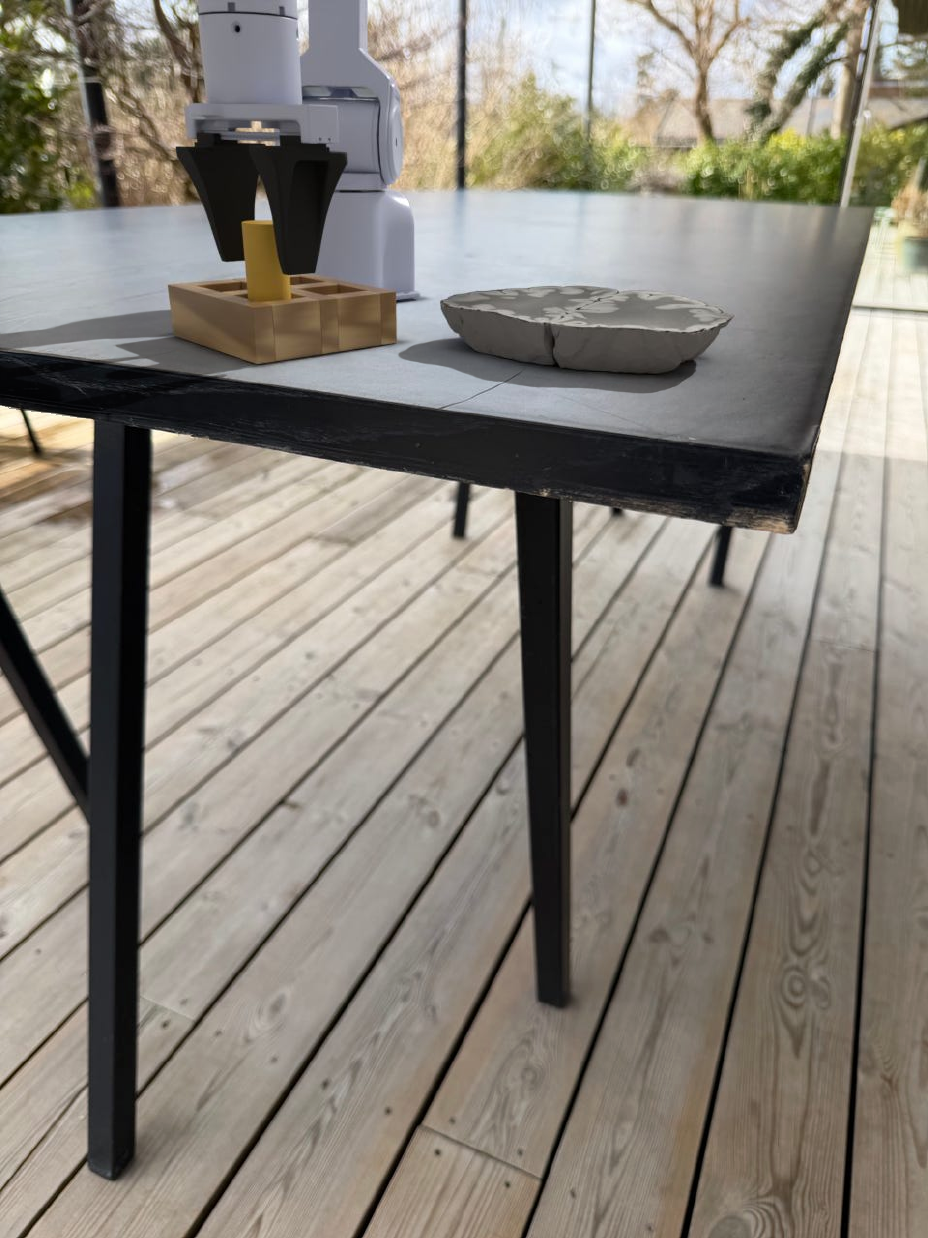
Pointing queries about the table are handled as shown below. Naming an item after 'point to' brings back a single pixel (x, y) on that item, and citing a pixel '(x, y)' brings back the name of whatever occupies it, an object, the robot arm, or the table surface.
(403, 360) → the table surface
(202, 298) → the stand
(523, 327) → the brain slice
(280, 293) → the yellow peg
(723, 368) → the table surface
